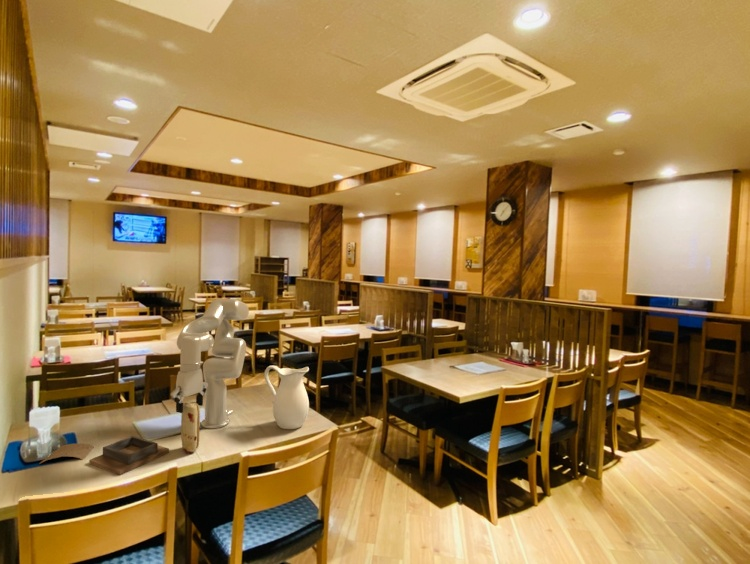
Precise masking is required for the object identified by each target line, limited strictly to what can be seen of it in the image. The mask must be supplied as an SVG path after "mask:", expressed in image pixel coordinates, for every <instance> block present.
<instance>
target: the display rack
mask: <svg viewBox="0 0 750 564" xmlns="http://www.w3.org/2000/svg"><path fill="white" fill-rule="evenodd" d="M169 453H170V448H168V447H165V446H162V445H159V444H158V442H154V441H151V440H148V439H145V438H141V437H138V436H136V435H130V436H128V437H126V438H123V439H120V440H118V441H115V442H114V443H113V442H112V443H110V444H108V445H106V446H103V447H102V454H100V455H97V456H95V457H93V458H90V459H89V460H88V462H89V465H92V466H94V467H97V468H100V469H102V470H105V471H108V472H110V473H113V474H116V475H119V476H121V475H122V476H123V475H124V474H126V473H128V472H130V471H132V470H135V469H136V468H139V467H141V466H143V465H145V464H148V463H149V462H152V461H154V460H155V459H158V458H160V457H162V456H164V455H166V454H169Z"/></svg>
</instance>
